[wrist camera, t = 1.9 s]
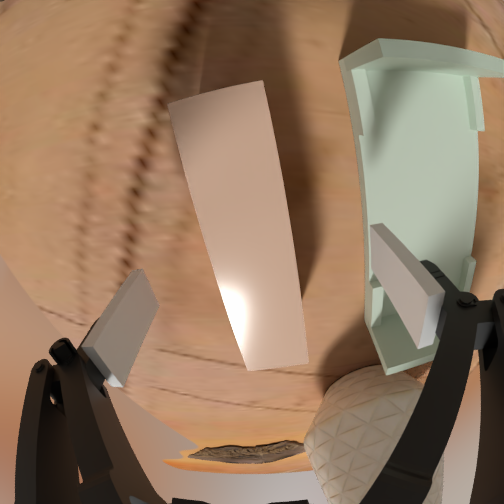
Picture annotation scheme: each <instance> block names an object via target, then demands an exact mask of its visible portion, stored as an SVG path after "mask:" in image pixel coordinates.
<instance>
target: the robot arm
mask: <svg viewBox="0 0 504 504" xmlns="http://www.w3.org/2000/svg"><path fill="white" fill-rule="evenodd" d="M0 1H4V0H0ZM370 242H371V269H372V271H373V272H374V274H375V276H376V277H377V279H378V280H379V282H380V284H381V285H382V287H383V288H384V290H385V292H386V293H387V295H388V297H389V299H390V300H391V302H392V304H393V305H394V307H395V309H396V310H397V312H398V314H399V316H400V318H401V319H402V321H403V323H404V325H405V326H406V328H407V330H408V332H409V334H410V336H411V337H412V339H413V341H414V343H415V345H416V347H417V349H420V348H423V347H426V346H429V345H432V344H433V342H434V338H435V335H437V337H438V338H439V340H440V341H439V345H438V348H437V351H436V354H435V357H434V360H433V363H432V366H431V369H430V371H429V374H428V377H427V379H426V382H425V385H424V387H423V390H422V392H421V395H420V397H419V399H418V402H417V404H416V406H415V408H414V411H413V413H412V415H411V417H410V419H409V421H408V423H407V426H406V428H405V430H404V432H403V434H402V435H401V437H400V439H399V441H398V443H397V445H396V447H395V449H394V450H393V452H392V454H391V456H390V457H389V459H388V461H387V462H386V464H385V466H384V467H383V469H382V471H381V472H380V474H379V475H378V477H377V479H376V480H375V482H374V483H373V485H372V486H371V488H370V489H369V491H368V492H367V493H366V495H365V496H364V498H363V499H362V500H361V502H360V503H359V504H422V503H423V502H424V500H425V498H426V496H427V494H428V492H429V490H430V488H431V485H432V478H433V475H434V472H435V470H436V468H437V466H438V464H439V461H440V459H441V457H442V454H443V452H444V450H445V447H446V445H447V442H448V440H449V437H450V435H451V431H452V429H453V426H454V423H455V420H456V417H457V414H458V411H459V408H460V405H461V401H462V397H463V394H464V391H465V386H466V383H467V379H468V375H469V370H470V366H471V361H472V356H473V351H474V350H477V349H478V353H479V365H480V379H481V380H480V381H481V423H480V424H481V425H480V439H479V451H478V458H477V467H476V472H475V478H474V484H473V489H472V494H471V499H470V504H504V289H499V290H497V291H496V292H495V294H494V296H493V300H484V301H479V300H478V298H477V297H476V296H475V295H473V294H472V293H469V292H463V291H461V292H460V291H459V290H458V289H457V287H456V286H455V285H454V284H453V283H452V282H451V281H450V280H449V278H448V277H447V276H445V274H444V273H443V272H442V271H441V270H440V269H439V268H438V267H437V265H436V264H434V263H432V262H430V261H428V260H427V259H426V260H422V261H419V260H418V259H417V258H416V257H415V256H414V255H413V254H412V253H411V252H410V251H409V250H408V249H407V247H406V246H405V245H404V244H403V243H402V242H401V241H400V240H399V239H398V238H397V237H396V236H395V235H394V234H393V233H392V232H391V231H390V230H389V229H388V228H387V227H386V226H385V225H384V224H383V223H378V224H373V225H370ZM159 306H160V305H159V303H158V301H157V299H156V297H155V295H154V292H153V290H152V288H151V286H150V284H149V282H148V279H147V277H146V275H145V273H144V270H143V269H138V270H133V271H132V272H131V273H130V275H129V276H128V277H127V279H126V280H125V281H124V283H123V284H122V286H121V287H120V289H119V290H118V291H117V293H116V294H115V296H114V297H113V299H112V300H111V301H110V303H109V304H108V306H107V307H106V309H105V310H104V312H103V313H102V315H101V316H100V318H98V319H97V320H96V321H95V322H94V324H93V325H92V327H91V328H90V330H89V331H88V333H87V335H86V336H85V338H84V339H83V341H82V342H81V344H80V346H79V347H78V349H77V350H76V349H75V347H74V346H73V345H72V343H71V342H70V340H69V339H68V338H62V339H59V340H58V341H56V342H55V343H54V344H53V345H52V346H51V348H50V350H49V354H50V355H51V356H52V357H53V359H54V360H55V362H56V363H57V365H53V366H52V365H51V364H50V363H49V361H48V360H47V359H42V360H40V361H38V362H37V363H35V365H34V367H33V368H32V370H31V374H30V378H29V382H28V387H27V391H26V395H25V400H24V405H23V410H22V416H21V423H20V429H19V437H18V445H17V455H16V472H15V503H14V504H167V503H166V502H165V501H164V500H163V499H162V498H161V497H160V496H159V495H158V494H157V493H156V491H155V490H154V488H153V487H152V485H151V483H150V481H149V480H148V478H147V476H146V474H145V473H144V471H143V469H142V467H141V465H140V464H139V462H138V460H137V458H136V456H135V454H134V452H133V450H132V448H131V446H130V444H129V442H128V440H127V437H126V435H125V433H124V431H123V429H122V426H121V424H120V422H119V419H118V417H117V415H116V412H115V410H114V407H113V405H112V402H111V399H110V397H109V394H108V391H107V389H106V387H105V386H104V385H103V382H104V380H105V379H106V380H107V382H108V383H109V384H110V385H111V386H112V387H124V385H125V382H126V380H127V378H128V375H129V373H130V370H131V368H132V366H133V363H134V361H135V359H136V356H137V354H138V352H139V349H140V347H141V345H142V343H143V340H144V338H145V336H146V334H147V332H148V329H149V327H150V325H151V323H152V321H153V318H154V316H155V314H156V312H157V310H158V308H159ZM50 396H51V397H52V398H53V399H54V404H53V403H52V402H51V400H50ZM78 466H79V470H80V472H81V476H82V479H83V483H81V484H80V483H79V473H78ZM171 504H209V503H206V502H203V501H194V500H186V499H178V498H172V503H171ZM269 504H309V502H308V500H299V501H289V502H275V503H269Z"/></svg>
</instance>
